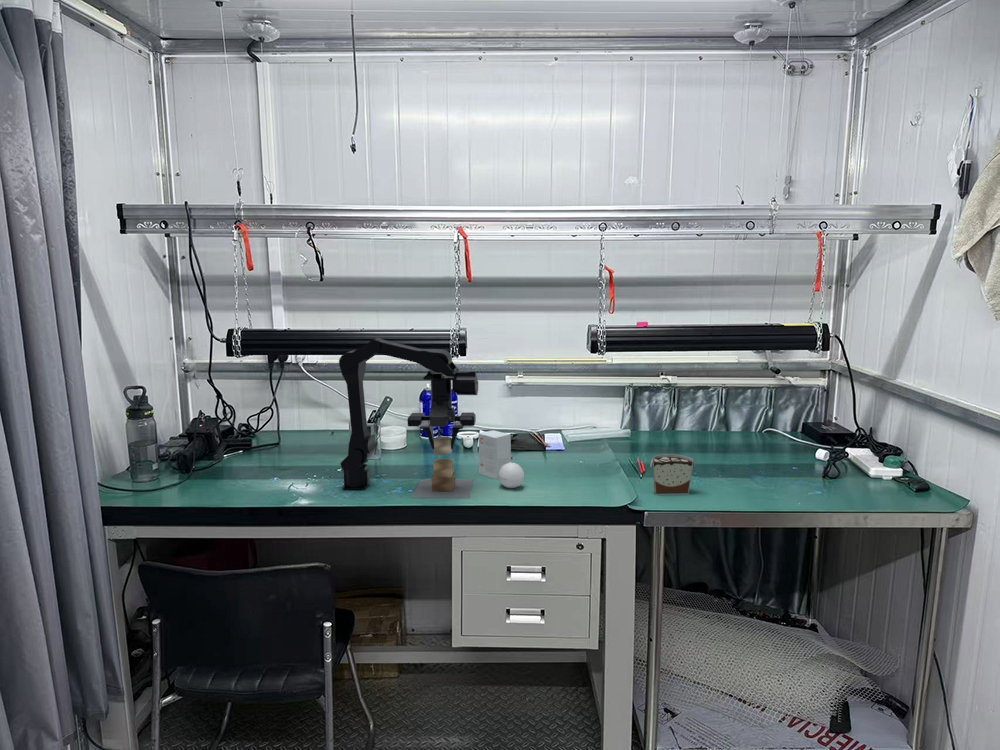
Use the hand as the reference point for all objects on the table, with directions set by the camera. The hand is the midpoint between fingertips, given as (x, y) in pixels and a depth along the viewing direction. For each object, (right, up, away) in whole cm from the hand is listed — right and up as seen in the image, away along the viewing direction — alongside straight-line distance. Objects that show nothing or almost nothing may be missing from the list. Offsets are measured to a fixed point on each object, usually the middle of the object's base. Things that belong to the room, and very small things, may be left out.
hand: (442, 448), depth 180 cm
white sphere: (+18, -12, +3) cm, 22 cm away
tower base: (0, -12, +2) cm, 12 cm away
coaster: (0, -12, +2) cm, 12 cm away
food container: (+64, -12, -1) cm, 65 cm away
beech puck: (0, -1, 0) cm, 1 cm away
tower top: (0, -8, +1) cm, 8 cm away
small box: (+15, -10, +15) cm, 23 cm away
